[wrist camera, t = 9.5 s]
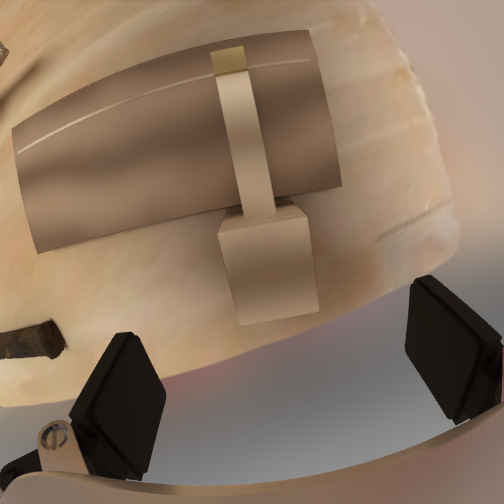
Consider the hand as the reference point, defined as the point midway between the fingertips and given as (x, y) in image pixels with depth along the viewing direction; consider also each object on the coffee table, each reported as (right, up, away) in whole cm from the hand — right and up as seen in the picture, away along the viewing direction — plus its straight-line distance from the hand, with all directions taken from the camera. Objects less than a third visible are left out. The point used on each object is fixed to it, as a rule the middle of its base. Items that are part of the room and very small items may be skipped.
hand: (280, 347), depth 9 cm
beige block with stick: (-1, +9, +13) cm, 16 cm away
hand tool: (-31, -8, +19) cm, 37 cm away
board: (-9, +12, +12) cm, 19 cm away
